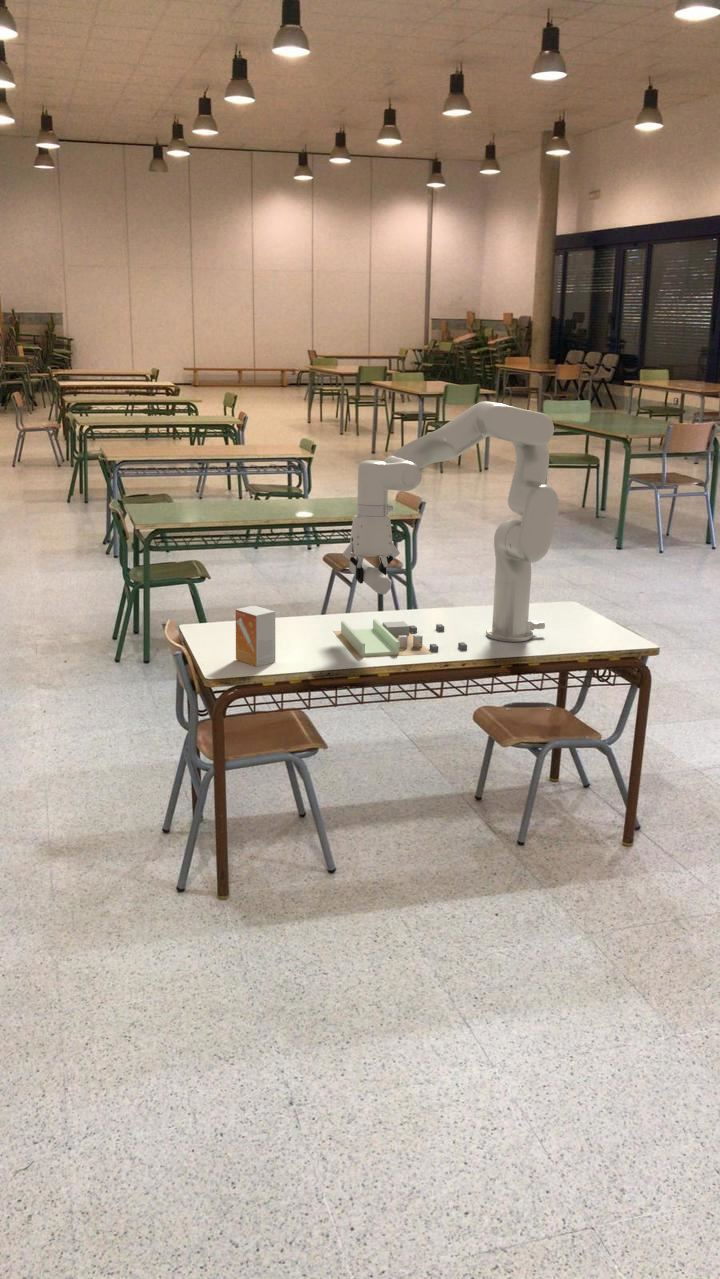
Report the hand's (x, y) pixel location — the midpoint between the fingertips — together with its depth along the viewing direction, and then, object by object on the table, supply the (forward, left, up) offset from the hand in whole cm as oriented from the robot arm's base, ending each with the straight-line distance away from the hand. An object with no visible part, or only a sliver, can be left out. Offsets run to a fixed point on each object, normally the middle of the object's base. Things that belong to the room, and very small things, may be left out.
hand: (370, 581), depth 276 cm
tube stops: (-18, 0, -18) cm, 26 cm away
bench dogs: (-9, +5, -16) cm, 20 cm away
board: (-3, 0, -18) cm, 18 cm away
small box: (+31, +6, -18) cm, 36 cm away
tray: (0, 0, -16) cm, 16 cm away
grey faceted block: (-9, -8, -16) cm, 21 cm away
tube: (0, 0, -1) cm, 1 cm away
